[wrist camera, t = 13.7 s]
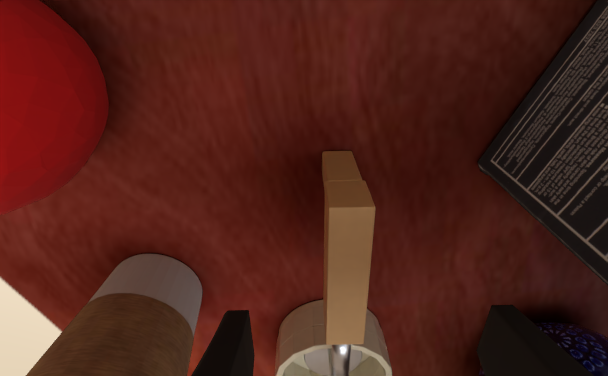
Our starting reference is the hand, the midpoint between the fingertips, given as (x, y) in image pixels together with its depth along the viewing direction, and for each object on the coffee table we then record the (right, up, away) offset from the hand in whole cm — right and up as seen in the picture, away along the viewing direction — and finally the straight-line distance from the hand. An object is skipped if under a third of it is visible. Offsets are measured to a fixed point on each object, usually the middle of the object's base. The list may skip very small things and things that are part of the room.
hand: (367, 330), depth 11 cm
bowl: (0, -7, +16) cm, 17 cm away
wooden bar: (0, -1, +12) cm, 12 cm away
